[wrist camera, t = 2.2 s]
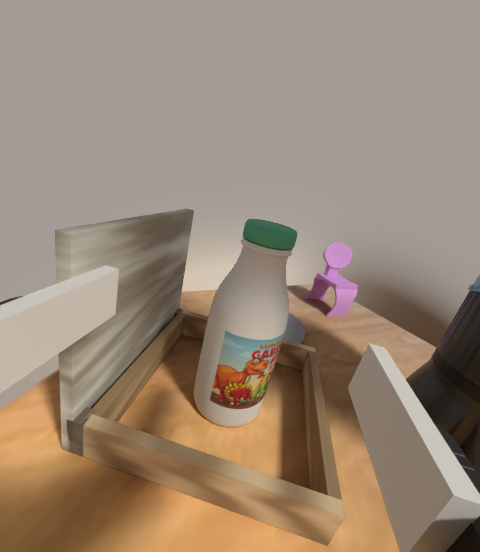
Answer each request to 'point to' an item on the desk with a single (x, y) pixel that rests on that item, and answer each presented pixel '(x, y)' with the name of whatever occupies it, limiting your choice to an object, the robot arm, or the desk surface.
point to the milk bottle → (245, 327)
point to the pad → (294, 330)
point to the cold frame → (144, 362)
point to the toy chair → (335, 280)
